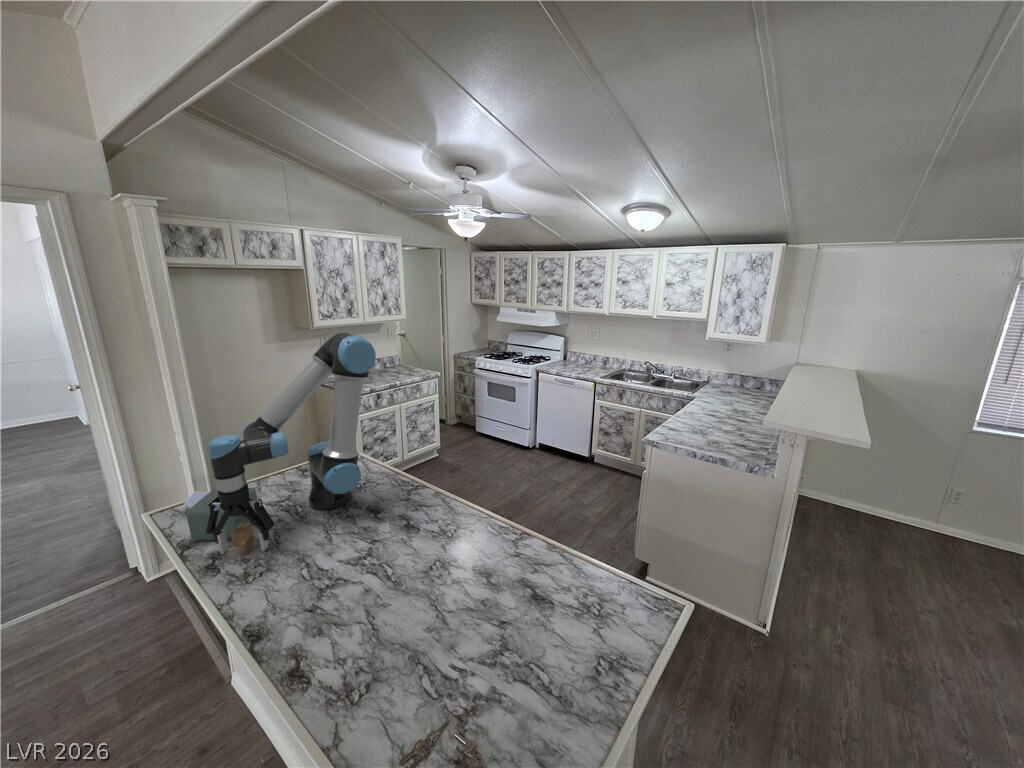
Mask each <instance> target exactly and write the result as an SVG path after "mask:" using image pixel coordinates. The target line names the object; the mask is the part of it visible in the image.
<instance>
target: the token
mask: <svg viewBox="0 0 1024 768" xmlns="http://www.w3.org/2000/svg"><path fill="white" fill-rule="evenodd" d="M253 534H254V533H253V530H252V525H251V524H250V523H242V524H239V525H238V527H237V528H236V529H235V530H234V531H233V532H232V533H231V535H232V540H231V541H232V544H233V549H234V553H235V557H242V556H247V555H248V554H249V552H251V550H252V549H253V547H254V546H255V540H254V535H253Z"/></svg>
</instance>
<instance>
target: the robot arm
mask: <svg viewBox="0 0 1024 768" xmlns="http://www.w3.org/2000/svg"><path fill="white" fill-rule="evenodd" d="M375 350H376V349H375V348H374V346H373V344H372V343H371V342H370V341H368V340H367V339H366V338H364V337H362V336H358V335H354V334H350V333H345V332H341V333H340V332H339V333H336V334H334V335H332V336H331V337H329V338H328V339H327V340H326V341H325V342H324V343H323V344H322V345H321V346H320V347H319V348H318V349H317V350H316V351H315V353H313V355H312V360H311V362H309V364H307V365H306V366H305V368H304V369H303V370H302V371H301V372H300V373H299V374H298V375H297V376H296V377H295V378H294V380H293V381H292V382H291V383H290V384H289V385H288V386H287V387H286V388H285V389H284V390H283V391H282V392H281V394H279V395H278V396H277V398H276V399H275V400H273V402H272V403H271V404H270V405H269V406H268V407H267V408H266V409H265V410H264V411H263V413H262V414H261V415H260V416H259V417H258V418H257V419H255V420H254V421H250V422H249V423H247V424H246V425H245V426H244V428H243V430H242V437H243V439H240V437H239V436H238V435H236V434H228V435H225V434H224V435H220V436H218V437H217V436H216V437H215V438H213V439H212V440H211V441H209V443H208V452H209V459H210V463H211V467H212V472H213V476H214V477H213V478H214V482H215V487H216V490H218V497H219V501H220V503H218V502H217V501H215V502H214V503H213V504H212V505H210V506H209V508H210V516H209V521H208V525H207V529H206V533H207V534H210V533H212V534H213V535H214V536H215V540H216V541H215V543H216V544H218V548H219V552H220V554H221V555H224V554H225V553H226V552H227V551H228V549H229V544H228V540H227V538H226V534H225V530H222V529H223V526H224V525H225V523H226V521H227V520H228V518H229V516H236V515H237V516H243V517H245V518H247V519H248V520H250V521H251V522H252V523H253V524H252V525H254V526H255V527H256V529H258V530H259V532H258V539H259V542H260V548H261V549H260V550H261V552H266V550H267V548H268V547H269V541H268V540H269V538H270V531H271V529H272V528H273V527H274V525H275V522H274V521H273V519H272V518H271V516H270V514H269V512H268V511H267V510H266V508H265V506H264V505H263V500H262V498H257V501H251V499H250V498H249V488H250V487H249V484H248V479H247V474H246V473H247V472H246V468H245V466H247V465H251V464H255V463H261V462H264V461H268V460H273V459H277V458H280V457H283V456H286V455H287V454H288V453H289V444H288V440H287V436H286V435H285V433H284V432H283V431H282V432H279V431H280V430H281V428H282V427H284V425H285V424H287V422H288V421H289V420H290V419H291V418H292V417H293V416H294V415H295V414H296V412H297V411H298V410H299V409H300V408H301V407H302V406H303V405H304V404H305V403H306V402H307V400H308V399H309V398H310V397H311V396H312V395H314V393H315V392H316V391H317V390H318V389H319V387H320V386H321V385H322V384H323V383H324V382H325V381H326V380H328V378H329V377H330V376H331V375H332V376H333V377H334V379H335V383H334V393H333V401H332V410H331V420H330V427H329V434H328V435H329V436H328V440H326V441H321V442H317V443H314V444H312V445H310V446H309V447H308V448H307V450H306V453H307V455H306V457H307V461H308V469H309V475H310V481H311V486H310V491H309V495H308V505H309V507H310V508H311V509H313V510H317V511H327V510H334V509H337V508H339V507H342V506H344V505H346V504H347V503H349V502H350V501H351V500H352V498H353V491H352V490H353V489H354V488H356V487H357V486H358V484H359V483H360V481H361V477H362V472H361V468H360V467H359V465H358V462H359V451H358V450H357V449H356V440H357V430H358V423H359V417H360V416H359V415H360V410H361V409H360V408H361V399H362V392H363V391H362V390H363V383H364V381H365V380H367V379H368V378H369V373H370V370H371V369H372V368H373V367H374V365H375V363H376V360H377V354H376V351H375ZM251 506H253V508H252V507H251ZM220 508H221V509H222V510H224V511H225V512H224V514H223V516H222V518H221V520H220V522H219V523H218V525H217V527H215V526H216V522H217V517H218V513H219V509H220ZM254 508H255V511H256V513H257V514H258V515H257V514H256V513H255V512H254ZM247 510H248V513H246V512H247ZM221 530H222V531H221Z"/></svg>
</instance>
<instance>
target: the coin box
mask: <svg viewBox="0 0 1024 768" xmlns="http://www.w3.org/2000/svg"><path fill="white" fill-rule="evenodd" d="M248 488H249V498H250V499H251V501H257V500H258V497H257V495H258V494H257V490H256V487H248ZM207 493H208V494H207V495H206V496H205V497H203V498H202V499H201V500H200V501H199V502H197V503H196V504H195V505H194V506H192V507H191V508H190V507H189V508H188V510H186V511H185V516H186V517H185V518H186V521H187V525H188V530H189V532H190V533H189V534H190V537H191V541H192V543H204V542H206V543H207V542H216V540H215V536H214V535H213V534H212V533H210V534H207V533H206V529H207V525H208V521H209V516H210V508H209V506H210V505H212V504H213V503H214V502H215V501H217V502H218V503H220V501H219V497H218V490H217V489H212V490H211V491H209V492H207ZM251 507H252V508H253V506H251ZM224 512H225V511H224V510H222V509H221V508H220V509H219V513H218V517H217V522H216V526H215V527H217V525H218V523H219V522H220V520H221V518H222V516H223V514H224ZM254 512H255V513H256V511H255V508H254ZM246 513H248V510H247V512H246ZM256 514H257V513H256ZM257 515H258V514H257ZM242 523H250V524H251V526H252V525H254V524H253V523H252V522H251V521H250V520H248V519H247V518H245V517H243V516H237V515H236V516H229V518H228V520H227V521H226V523H225V525H224V526H223V529H222V530H225V534H226V538H227V541H233V540H232V535H231V533H232V532H233V531H234V530H235V529H236V528H237V527H238V525H239V524H242ZM222 530H221V531H222Z"/></svg>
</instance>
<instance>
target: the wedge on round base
mask: <svg viewBox="0 0 1024 768" xmlns="http://www.w3.org/2000/svg"><path fill="white" fill-rule="evenodd" d="M208 493H209V492H207V491H199V490H195V491H194V492H193V493H192V494H191V495H190V497H189V498H188V499H187V500H186V501H185V502H184V504H183V506H185V507H188V508H189V509H190V508H191V507H192V506H194V505H195V504H196V503H197V502H199V501H200V500H201V499H202V498H203V497H205V496H206V495H207V494H208Z"/></svg>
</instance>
